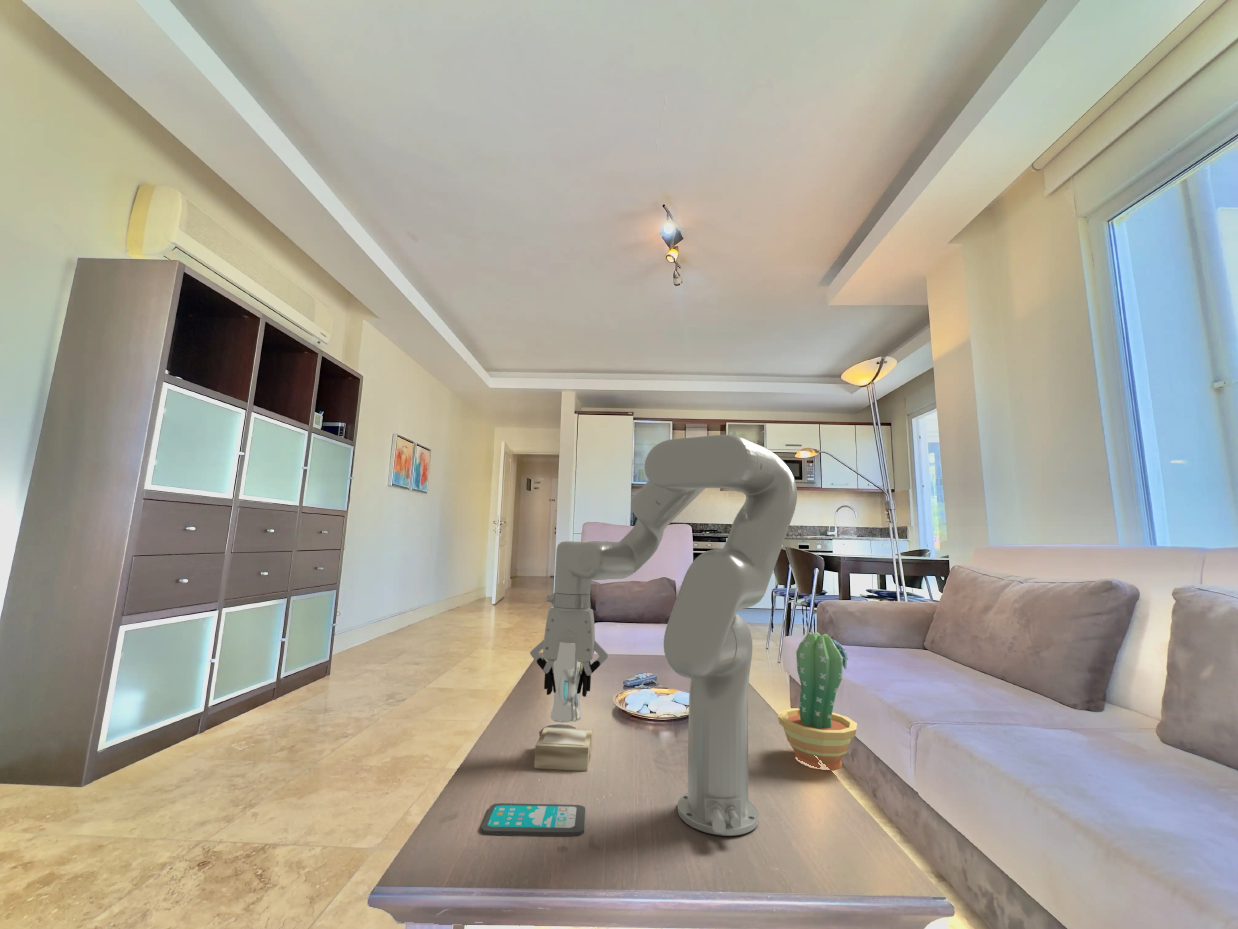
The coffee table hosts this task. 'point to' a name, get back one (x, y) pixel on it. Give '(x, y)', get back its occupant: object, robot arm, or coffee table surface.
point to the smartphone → (534, 820)
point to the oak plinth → (564, 749)
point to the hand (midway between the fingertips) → (567, 693)
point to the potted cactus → (819, 704)
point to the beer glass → (567, 684)
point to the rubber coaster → (559, 726)
